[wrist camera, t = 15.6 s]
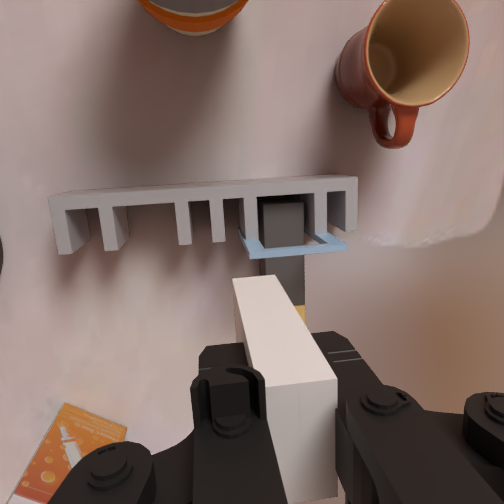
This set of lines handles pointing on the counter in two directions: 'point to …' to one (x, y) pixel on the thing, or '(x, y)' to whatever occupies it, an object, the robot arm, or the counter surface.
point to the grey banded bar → (284, 235)
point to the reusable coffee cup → (193, 14)
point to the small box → (63, 452)
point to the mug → (403, 63)
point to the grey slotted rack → (116, 199)
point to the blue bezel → (326, 245)
